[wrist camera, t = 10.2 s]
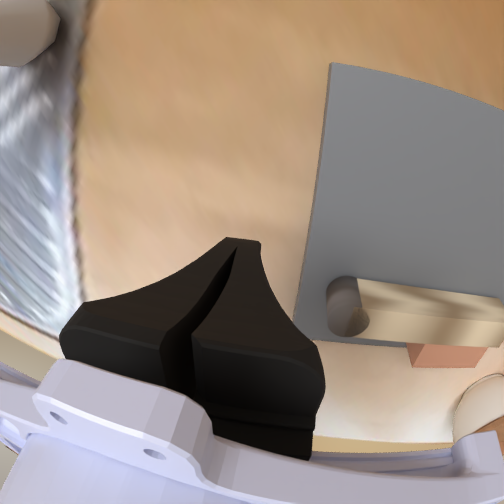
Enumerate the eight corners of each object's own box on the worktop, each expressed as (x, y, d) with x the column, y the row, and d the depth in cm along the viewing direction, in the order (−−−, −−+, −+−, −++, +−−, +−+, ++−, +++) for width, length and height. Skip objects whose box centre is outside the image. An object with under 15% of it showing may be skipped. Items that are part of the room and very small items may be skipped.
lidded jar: (477, 417, 31) (490, 474, 23) (427, 409, 31) (438, 478, 23) (533, 367, 26) (557, 427, 18) (489, 352, 25) (517, 425, 17)
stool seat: (477, 334, 24) (493, 374, 20) (292, 319, 26) (288, 366, 22) (553, 136, 14) (594, 156, 10) (329, 64, 16) (338, 58, 12)
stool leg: (322, 304, 22) (323, 334, 19) (330, 273, 20) (333, 302, 18) (485, 322, 21) (498, 348, 18) (499, 297, 19) (514, 322, 17)
